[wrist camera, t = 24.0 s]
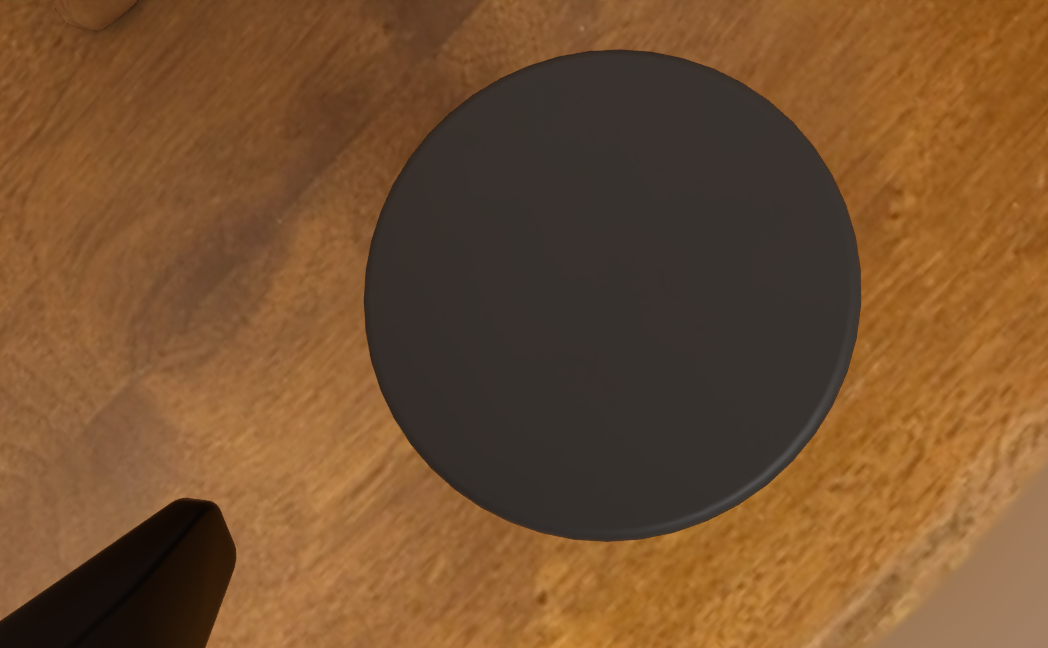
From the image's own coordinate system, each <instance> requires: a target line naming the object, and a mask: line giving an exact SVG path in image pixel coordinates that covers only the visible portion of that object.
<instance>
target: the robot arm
mask: <svg viewBox="0 0 1048 648" xmlns="http://www.w3.org/2000/svg"><path fill="white" fill-rule="evenodd" d="M235 563H236V548H235V544H234V542H233V540H232V537H231V535H230V532H229V530H228V527H227V525H226V522H225V520H224V518H223V515H222V513H221V510H220V508H219V507H218V506H217V505H216V504H215V503H214V502H212V501H207V500H200V499H193V498H181V499H178V500H175V501H173V502H172V503H170V504H169V505H167V506H166V507H164V508H163V509H161V510H160V511H159V512H157V513H156V514H154V515H153V516H151V517H150V518H148V519H147V520H146V521H144V522H143V523H141V524H140V525H138V526H137V527H135V528H134V529H133V530H131V531H130V532H128V533H127V534H125V535H124V536H122V537H121V538H120V539H118V540H117V541H115V542H114V543H112V544H111V545H109V546H108V547H107V548H105V549H104V550H102V551H101V552H99V553H98V554H96V555H95V556H94V557H92V558H91V559H89V560H88V561H86V562H85V563H83V564H82V565H81V566H79V567H78V568H76V569H75V570H73V571H72V572H70V573H69V574H68V575H66V576H65V577H63V578H62V579H60V580H59V581H57V582H56V583H55V584H53V585H52V586H50V587H49V588H47V589H46V590H44V591H43V592H41V593H40V594H39V595H37V596H36V597H34V598H33V599H31V600H30V601H28V602H27V603H26V604H24V605H23V606H21V607H20V608H18V609H17V610H15V611H14V612H13V613H11V614H10V615H8V616H7V617H5V618H4V619H2V620H1V621H0V648H205V647H206V645H207V642H208V639H209V636H210V634H211V631H212V628H213V626H214V623H215V620H216V617H217V615H218V612H219V609H220V607H221V604H222V601H223V598H224V596H225V593H226V590H227V587H228V585H229V582H230V579H231V577H232V574H233V571H234V568H235Z"/></svg>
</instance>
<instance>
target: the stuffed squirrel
mask: <svg viewBox="0 0 1048 648" xmlns="http://www.w3.org/2000/svg"><path fill="white" fill-rule="evenodd" d="M137 1H138V0H53V3H54V6H55V9H56V10H57V12H58V14H59V15H60V16H61V18H62V19H63V20H64V21H66V22H67V23H68V24H70V25H73V26H75V27H77V28H81V29H93V30H101V29H103V28H106V27H107V26H108V25H110V24H111V23H112V22H114V21H115V20H116V19H118V18H119V17H120V16H121V15H122V14H124V13H125V12H126V11H127V10H128V9H129V8H131V7H132V6H133V5H134V4H135V3H136V2H137Z"/></svg>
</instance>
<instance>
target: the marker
mask: <svg viewBox="0 0 1048 648" xmlns="http://www.w3.org/2000/svg"><path fill="white" fill-rule="evenodd" d="M860 309H861V269H860V262H859V256H858V249H857V242H856V236H855V233H854V230H853V226H852V223H851V220H850V216H849V213H848V210H847V206H846V204H845V201H844V199H843V197H842V195H841V193H840V191H839V188H838V186H837V184H836V182H835V180H834V178H833V175H832V174H831V172H830V171H829V169H828V167H827V166H826V164H825V163H824V161H823V160H822V158H821V157H820V155H819V153H818V152H817V150H816V149H815V147H814V146H813V145H812V144H811V142H810V141H809V140H808V139H807V138H806V137H805V135H804V134H803V133H802V132H801V131H800V130H799V129H798V127H797V126H796V125H795V124H794V123H793V122H792V121H791V120H790V119H789V118H788V117H787V116H786V115H784V114H783V113H782V112H781V111H780V110H779V109H778V108H776V107H775V106H774V105H773V104H772V103H771V102H770V101H769V100H767V99H766V98H764V97H763V96H761V95H760V94H758V93H757V92H755V91H754V90H752V89H751V88H749V87H748V86H746V85H745V84H743V83H741V82H739V81H737V80H735V79H733V78H731V77H729V76H727V75H725V74H723V73H721V72H719V71H717V70H715V69H713V68H710V67H707V66H704V65H701V64H698V63H695V62H692V61H689V60H686V59H683V58H679V57H674V56H669V55H664V54H659V53H654V52H646V51H632V50H604V51H587V52H582V53H576V54H571V55H565V56H560V57H556V58H552V59H549V60H546V61H543V62H539V63H536V64H533V65H530V66H527V67H525V68H523V69H520V70H518V71H516V72H514V73H511V74H509V75H507V76H505V77H502V78H500V79H499V80H497V81H495V82H494V83H492V84H490V85H489V86H487V87H485V88H484V89H482V90H480V91H479V92H477V93H475V94H474V95H472V96H471V97H470V98H469V99H467V100H466V101H465V102H463V103H462V104H461V105H460V106H458V107H457V108H456V109H454V110H453V111H452V112H450V113H449V114H448V115H447V116H446V117H445V118H444V119H443V120H442V121H441V122H440V123H439V124H438V125H437V126H436V127H435V128H434V129H433V130H432V131H431V132H430V133H429V134H428V135H427V137H426V138H425V139H424V140H423V142H422V143H421V144H420V145H419V147H418V148H417V149H416V150H415V152H414V153H413V154H412V155H411V157H410V158H409V159H408V161H407V163H406V164H405V166H404V168H403V169H402V171H401V172H400V174H399V176H398V177H397V179H396V180H395V182H394V184H393V186H392V188H391V190H390V192H389V195H388V197H387V199H386V201H385V203H384V205H383V208H382V210H381V212H380V215H379V218H378V222H377V225H376V228H375V231H374V234H373V237H372V241H371V246H370V251H369V256H368V261H367V267H366V277H365V292H364V310H365V327H366V335H367V341H368V346H369V351H370V357H371V362H372V365H373V368H374V371H375V374H376V377H377V380H378V383H379V386H380V390H381V392H382V394H383V396H384V398H385V400H386V402H387V405H388V407H389V409H390V411H391V413H392V415H393V417H394V419H395V421H396V422H397V424H398V425H399V427H400V428H401V430H402V431H403V433H404V435H405V436H406V438H407V439H408V441H409V442H410V444H411V445H412V446H413V447H414V449H415V450H416V451H417V452H418V453H419V455H420V456H421V457H422V458H423V459H424V460H425V462H426V463H427V464H428V465H429V466H430V468H431V469H433V470H434V471H435V472H436V473H437V474H438V475H439V476H440V477H441V478H443V479H444V480H445V481H446V482H447V483H448V484H449V485H450V486H451V487H452V488H454V489H455V490H456V491H458V492H459V493H461V494H462V495H463V496H465V497H466V498H468V499H469V500H471V501H472V502H474V503H475V504H477V505H478V506H480V507H481V508H483V509H485V510H487V511H489V512H491V513H493V514H495V515H497V516H499V517H501V518H503V519H505V520H507V521H509V522H511V523H514V524H517V525H520V526H523V527H525V528H528V529H531V530H534V531H537V532H540V533H544V534H549V535H554V536H559V537H564V538H569V539H574V540H589V541H605V542H609V541H624V540H638V539H645V538H650V537H655V536H659V535H664V534H669V533H674V532H677V531H680V530H683V529H686V528H688V527H691V526H694V525H697V524H700V523H703V522H705V521H708V520H710V519H712V518H714V517H716V516H718V515H720V514H722V513H724V512H725V511H727V510H729V509H731V508H733V507H735V506H737V505H739V504H740V503H742V502H743V501H745V500H746V499H747V498H749V497H750V496H752V495H753V494H755V493H756V492H757V491H759V490H760V489H762V488H763V487H765V486H766V485H767V484H769V483H770V482H771V481H772V480H773V479H774V478H775V477H776V476H777V475H778V474H779V473H780V472H781V471H783V470H784V469H785V468H786V467H787V466H788V465H789V464H790V463H791V462H792V461H793V460H794V459H795V458H796V457H797V455H798V454H799V453H800V452H801V450H802V449H803V448H804V447H805V446H806V444H807V443H808V442H809V441H810V439H811V438H812V437H813V436H814V435H815V433H816V432H817V430H818V428H819V427H820V425H821V423H822V422H823V420H824V418H825V417H826V415H827V414H828V412H829V410H830V409H831V407H832V405H833V404H834V401H835V399H836V397H837V395H838V392H839V390H840V388H841V385H842V383H843V381H844V378H845V376H846V374H847V371H848V368H849V364H850V360H851V357H852V353H853V350H854V346H855V342H856V339H857V332H858V324H859V316H860Z"/></svg>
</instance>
